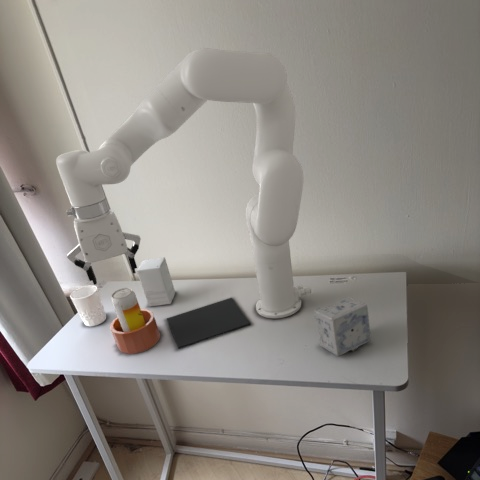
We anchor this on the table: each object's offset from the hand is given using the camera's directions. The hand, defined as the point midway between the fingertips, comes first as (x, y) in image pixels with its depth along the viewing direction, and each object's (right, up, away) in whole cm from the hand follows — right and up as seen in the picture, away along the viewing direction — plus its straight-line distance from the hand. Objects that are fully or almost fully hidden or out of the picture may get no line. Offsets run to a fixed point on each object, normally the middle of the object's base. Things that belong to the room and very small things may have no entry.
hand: (114, 276), depth 104 cm
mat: (+22, -11, +13) cm, 28 cm away
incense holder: (+55, -16, -5) cm, 58 cm away
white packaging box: (+7, -4, +28) cm, 29 cm away
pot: (+4, -16, +11) cm, 20 cm away
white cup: (-13, -11, +24) cm, 29 cm away
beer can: (+4, -16, +11) cm, 20 cm away
